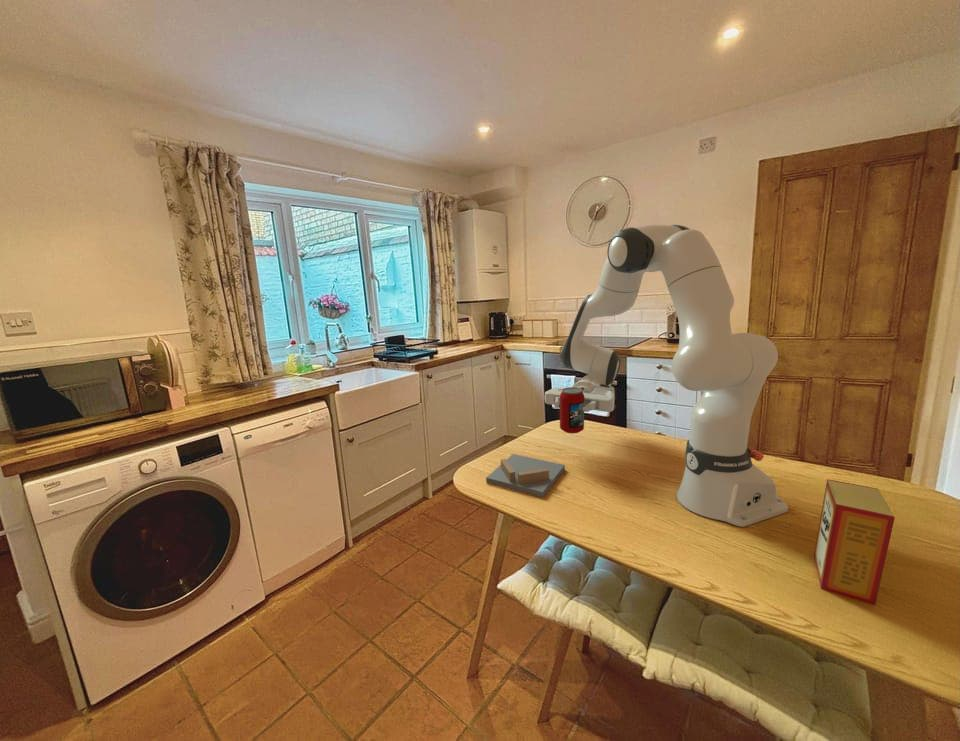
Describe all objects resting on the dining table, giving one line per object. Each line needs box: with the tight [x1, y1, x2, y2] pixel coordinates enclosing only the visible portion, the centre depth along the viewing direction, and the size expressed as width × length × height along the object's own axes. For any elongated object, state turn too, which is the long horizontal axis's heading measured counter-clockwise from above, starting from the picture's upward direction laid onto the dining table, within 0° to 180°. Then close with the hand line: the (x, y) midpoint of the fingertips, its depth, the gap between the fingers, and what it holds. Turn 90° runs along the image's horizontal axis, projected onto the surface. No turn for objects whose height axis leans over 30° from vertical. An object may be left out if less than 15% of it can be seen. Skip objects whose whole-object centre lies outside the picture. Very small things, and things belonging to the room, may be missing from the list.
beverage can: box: [559, 386, 585, 434], centre depth 111 cm, size 7×7×12 cm
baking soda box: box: [813, 478, 896, 606], centre depth 66 cm, size 10×6×16 cm
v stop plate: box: [485, 453, 566, 499], centre depth 106 cm, size 16×16×4 cm
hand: (570, 407), depth 110 cm, fingers closed on beverage can, 7 cm apart
